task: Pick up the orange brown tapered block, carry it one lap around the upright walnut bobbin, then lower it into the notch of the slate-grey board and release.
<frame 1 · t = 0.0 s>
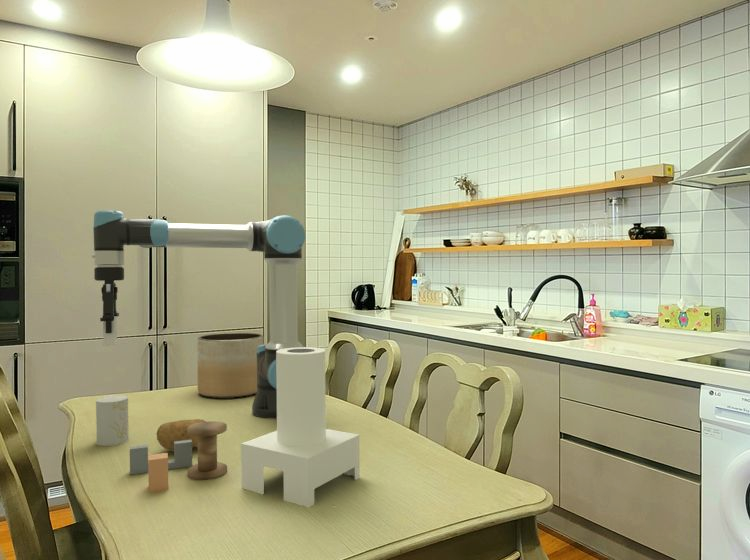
hand: (110, 342, 156), 28 cm above the table, fingers open, 13 cm apart
paper towel holder: (302, 483, 126), on the table
potato: (184, 450, 149), on the table
cup: (112, 441, 157), on the table
notch board: (161, 468, 135), on the table
bobbin: (207, 472, 132), on the table
orange brown tapered block: (158, 487, 123), on the table
planter: (231, 392, 219), on the table
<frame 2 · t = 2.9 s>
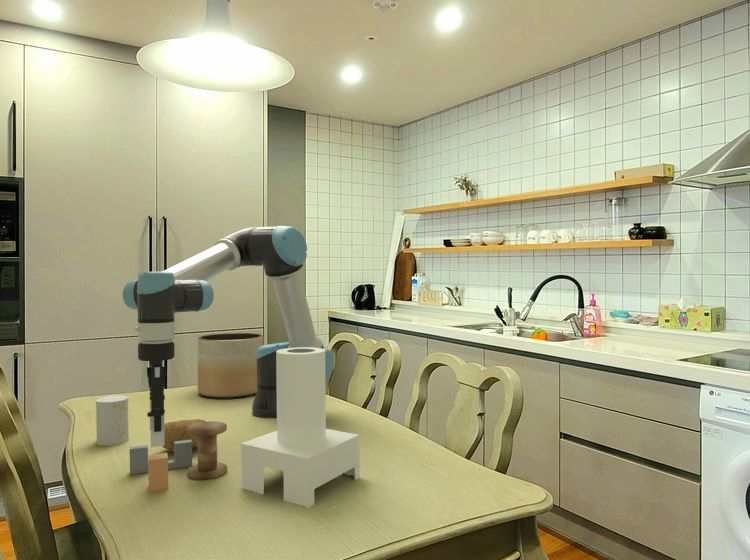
hand: (156, 437, 123), 11 cm above the table, fingers open, 13 cm apart
nothing on the table moved.
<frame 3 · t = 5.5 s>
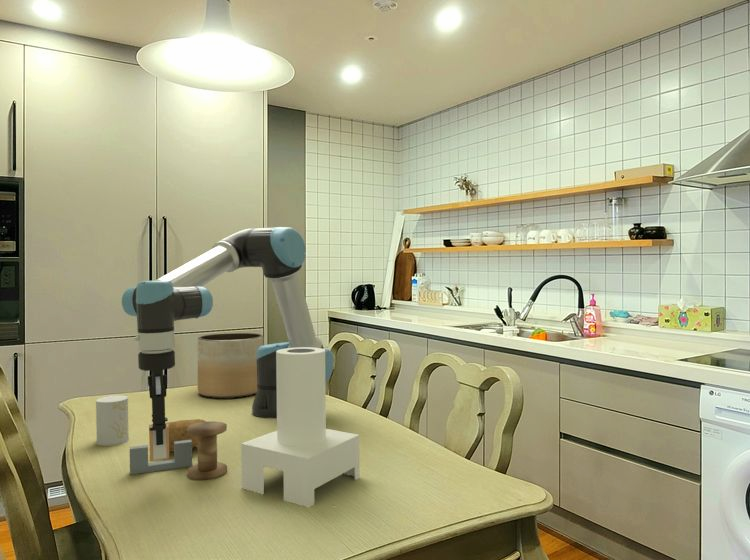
hand: (159, 454, 124), 7 cm above the table, fingers closed on orange brown tapered block, 4 cm apart
orange brown tapered block: (159, 457, 124), point 7 cm above the table, touching gripper
everything else where it was.
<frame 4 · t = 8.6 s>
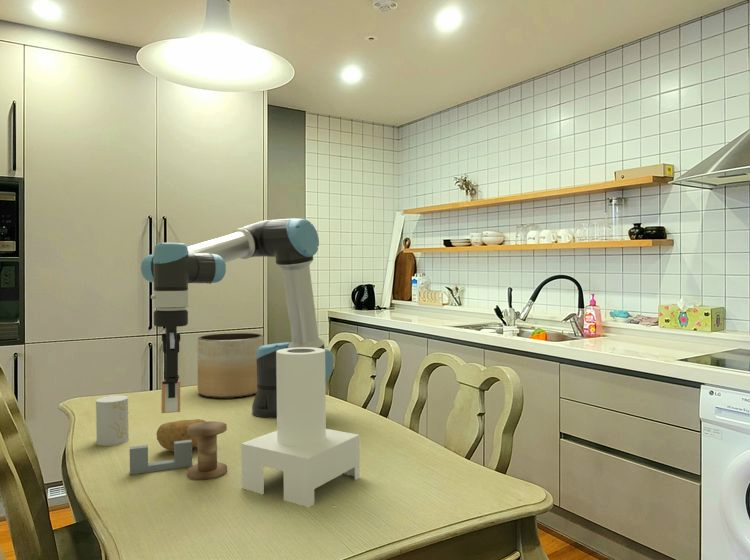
hand: (170, 409, 130), 16 cm above the table, fingers closed on orange brown tapered block, 4 cm apart
orange brown tapered block: (170, 410, 130), point 15 cm above the table, touching gripper
everything else where it was.
when the fingers open (1 cm above the table, at t = 12.0 s): orange brown tapered block stays where it is, resting on notch board.
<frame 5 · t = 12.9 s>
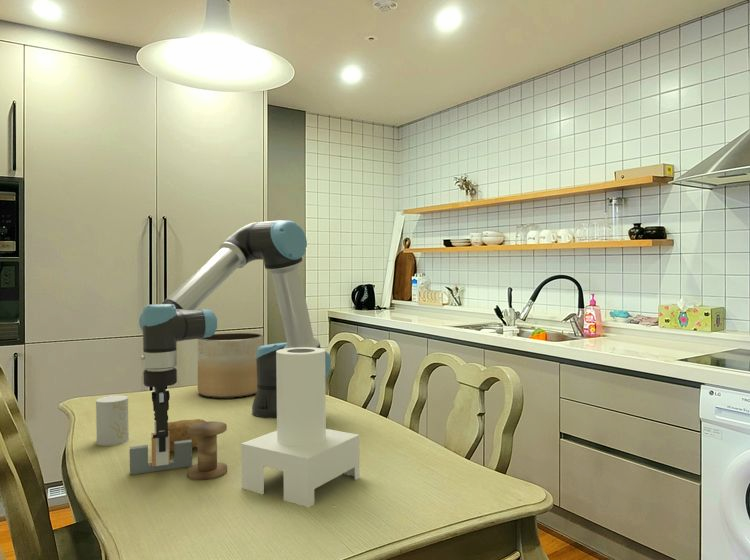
hand: (161, 455, 135), 3 cm above the table, fingers open, 13 cm apart
orange brown tapered block: (160, 462, 135), point 1 cm above the table, touching notch board
everything else where it was.
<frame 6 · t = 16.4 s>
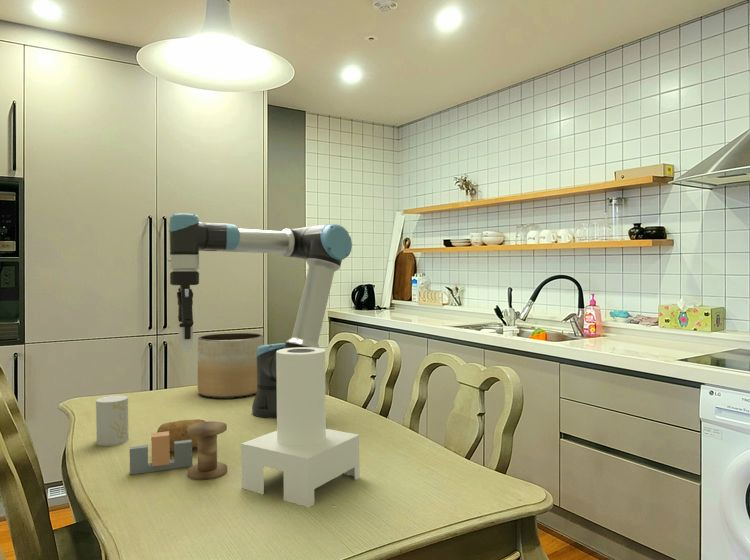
hand: (185, 348, 153), 27 cm above the table, fingers open, 13 cm apart
nothing on the table moved.
at the end: orange brown tapered block 0.2 cm off-centre on the notch board, point 1.5 cm above the notch board's base; orange brown tapered block tilted 0°; the gripper is holding nothing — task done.
